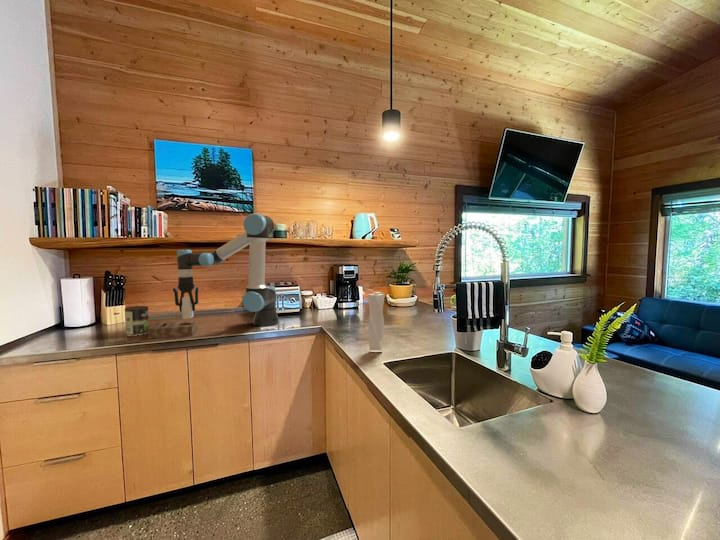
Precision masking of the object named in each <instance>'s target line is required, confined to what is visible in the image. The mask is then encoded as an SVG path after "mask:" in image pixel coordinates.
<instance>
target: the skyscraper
mask: <svg viewBox="0 0 720 540" xmlns="http://www.w3.org/2000/svg"><path fill="white" fill-rule="evenodd" d="M366 291H367V295H368V297H367V299H368V308H369V315H368V343H369V344H368V345H369V351H370V350H381V349H382V350H383V345H384V339H385V338H384V337H385V318H384V313H383V309H384V304H385V297H386V294H385V292H382V291H375V290H374V289H372V288H367V289H366ZM369 291H372V292H373V293H369Z"/></svg>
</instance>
